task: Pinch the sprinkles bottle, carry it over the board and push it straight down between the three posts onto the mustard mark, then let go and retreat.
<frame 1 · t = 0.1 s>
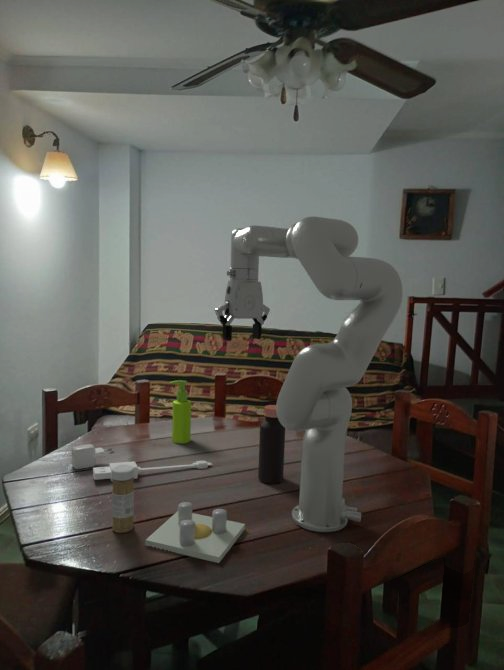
hand: (242, 339, 136), 37 cm above the table, tool pointing down, fingers open, 9 cm apart
soap dispenser: (179, 441, 164), on the table
charging cable: (152, 474, 137), on the table
power adapter: (93, 465, 141), on the table
pin board: (197, 537, 104), on the table
vinegar: (270, 480, 135), on the table
sprinkles bottle: (122, 529, 107), on the table
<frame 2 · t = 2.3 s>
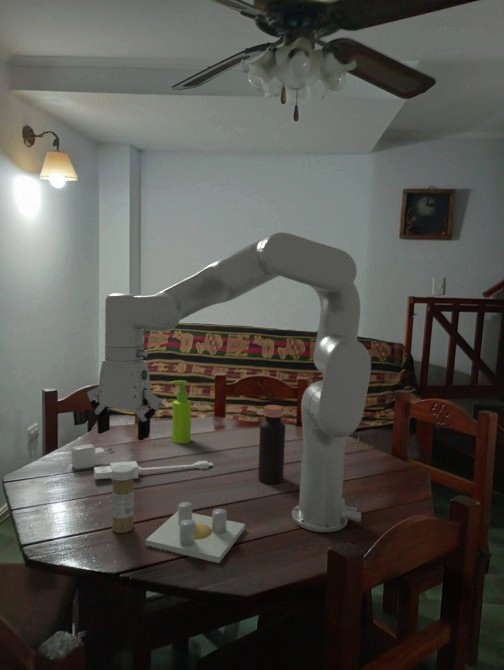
hand: (123, 435, 104), 20 cm above the table, tool pointing down, fingers open, 9 cm apart
nothing on the table moved.
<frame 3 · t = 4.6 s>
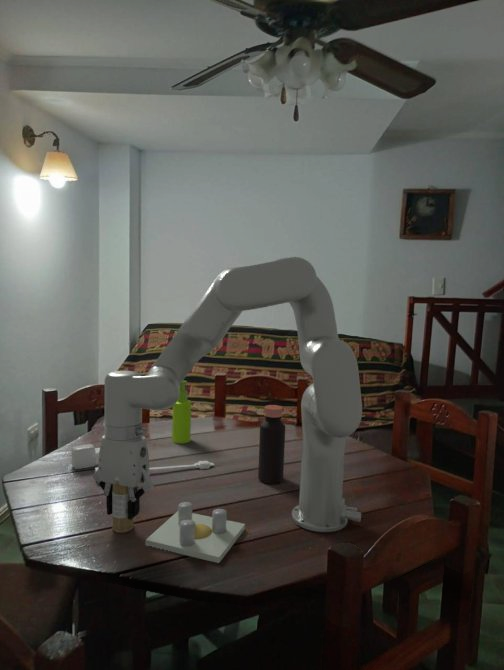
hand: (122, 513, 106), 3 cm above the table, tool pointing down, fingers closed on sprinkles bottle, 4 cm apart
sprinkles bottle: (122, 529, 107), on the table, touching gripper
everything else where it was.
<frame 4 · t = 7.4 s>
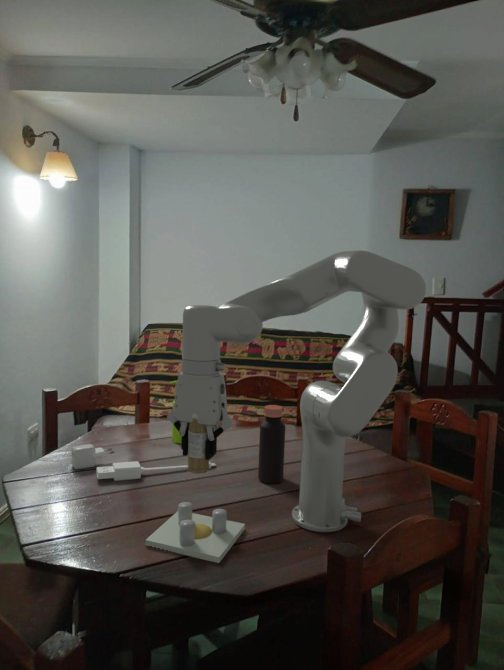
hand: (198, 454, 102), 18 cm above the table, tool pointing down, fingers closed on sprinkles bottle, 4 cm apart
sprinkles bottle: (198, 471, 102), point 14 cm above the table, touching gripper
everything else where it was.
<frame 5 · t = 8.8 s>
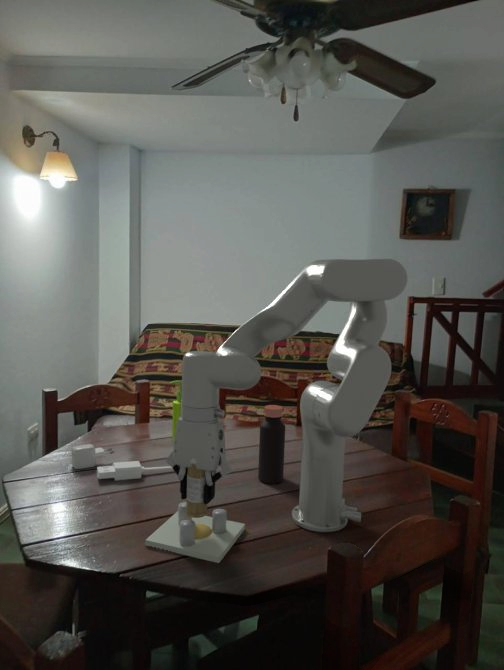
hand: (197, 498, 103), 8 cm above the table, tool pointing down, fingers closed on sprinkles bottle, 4 cm apart
sprinkles bottle: (196, 514, 103), point 5 cm above the table, touching gripper
when the fingers open (6 cm above the table, at t = 10.1 s): sprinkles bottle drops 1 cm, resting on pin board.
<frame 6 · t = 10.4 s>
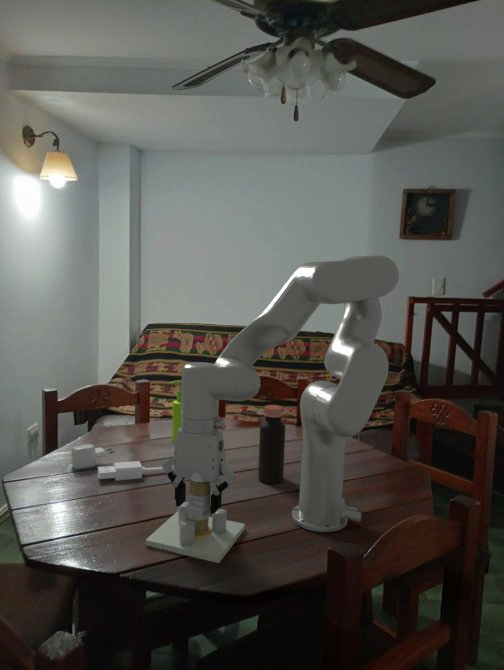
hand: (197, 506, 103), 7 cm above the table, tool pointing down, fingers open, 7 cm apart
sprinkles bottle: (197, 531, 104), point 1 cm above the table, touching pin board
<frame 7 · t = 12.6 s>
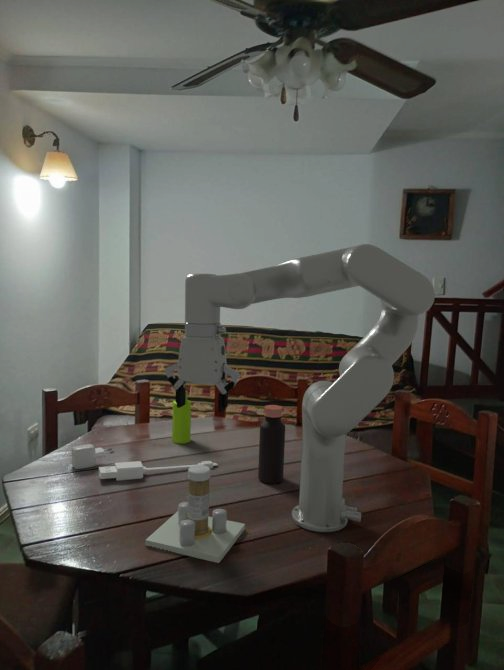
hand: (201, 408, 110), 25 cm above the table, tool pointing down, fingers open, 9 cm apart
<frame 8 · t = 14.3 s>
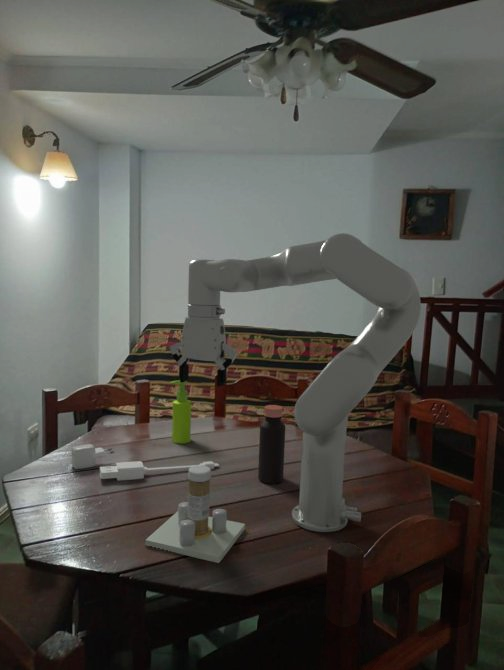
hand: (202, 383, 120), 28 cm above the table, tool pointing down, fingers open, 9 cm apart
at the end: sprinkles bottle 0.1 cm from the pin board (horizontally); sprinkles bottle tilted 1°; sprinkles bottle point 1.2 cm above the table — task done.
